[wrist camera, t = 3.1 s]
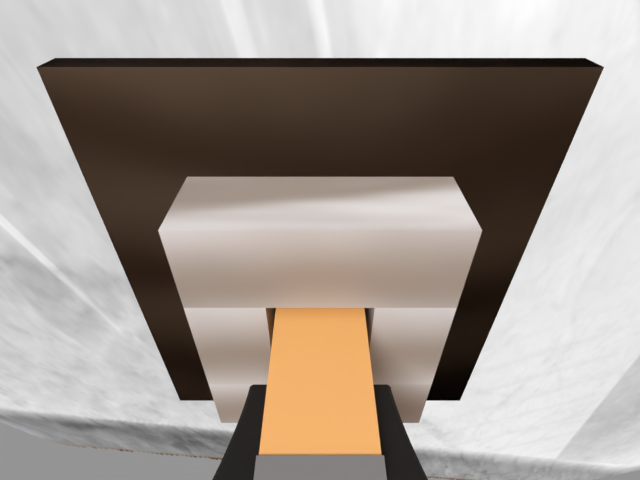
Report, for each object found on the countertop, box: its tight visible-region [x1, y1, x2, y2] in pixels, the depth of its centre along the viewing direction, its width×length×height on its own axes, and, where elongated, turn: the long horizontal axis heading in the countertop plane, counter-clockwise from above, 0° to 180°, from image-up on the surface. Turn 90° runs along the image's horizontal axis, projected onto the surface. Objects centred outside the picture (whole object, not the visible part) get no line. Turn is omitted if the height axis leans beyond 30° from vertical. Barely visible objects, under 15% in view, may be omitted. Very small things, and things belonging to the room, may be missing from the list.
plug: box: [253, 308, 387, 480], centre depth 13 cm, size 4×3×7 cm
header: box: [36, 58, 604, 423], centre depth 16 cm, size 18×16×4 cm
